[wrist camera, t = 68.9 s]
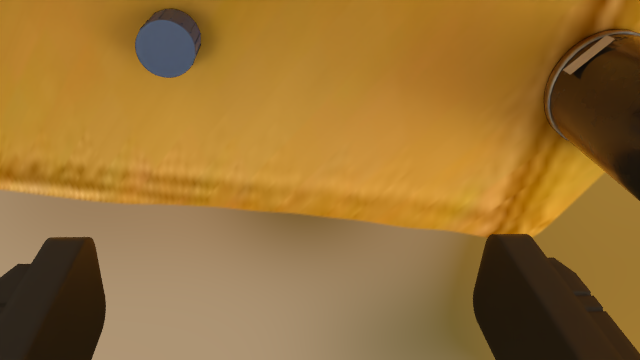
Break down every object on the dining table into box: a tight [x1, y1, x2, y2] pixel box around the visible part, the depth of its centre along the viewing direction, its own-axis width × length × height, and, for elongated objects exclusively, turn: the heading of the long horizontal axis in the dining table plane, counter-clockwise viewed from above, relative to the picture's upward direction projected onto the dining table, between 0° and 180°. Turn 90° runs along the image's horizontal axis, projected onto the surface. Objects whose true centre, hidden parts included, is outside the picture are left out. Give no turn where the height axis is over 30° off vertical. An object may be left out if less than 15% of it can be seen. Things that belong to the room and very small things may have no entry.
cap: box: [135, 9, 201, 78], centre depth 36 cm, size 4×4×3 cm
